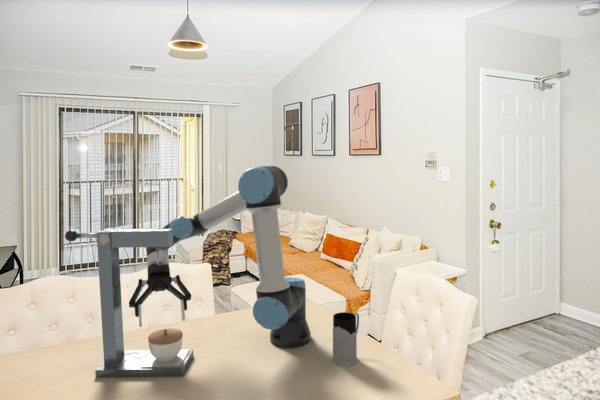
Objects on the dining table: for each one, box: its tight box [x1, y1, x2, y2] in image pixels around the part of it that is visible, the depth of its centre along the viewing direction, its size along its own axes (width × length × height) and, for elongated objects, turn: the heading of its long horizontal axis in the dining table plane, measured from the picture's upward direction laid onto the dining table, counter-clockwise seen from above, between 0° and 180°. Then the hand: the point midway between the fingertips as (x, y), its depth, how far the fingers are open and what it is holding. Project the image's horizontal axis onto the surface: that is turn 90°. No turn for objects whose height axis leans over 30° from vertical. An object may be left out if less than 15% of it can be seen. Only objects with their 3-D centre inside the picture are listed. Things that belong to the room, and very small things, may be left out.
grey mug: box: [331, 311, 360, 367], centre depth 146 cm, size 9×14×15 cm, turn 145°
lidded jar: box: [147, 328, 184, 362], centre depth 141 cm, size 11×11×9 cm
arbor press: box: [64, 228, 194, 379], centre depth 139 cm, size 37×14×45 cm, turn 90°
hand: (162, 322), depth 143 cm, fingers open, 13 cm apart
